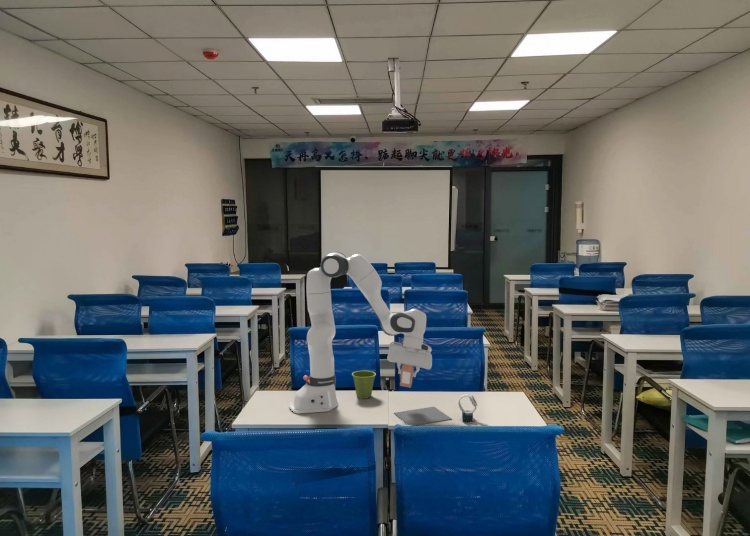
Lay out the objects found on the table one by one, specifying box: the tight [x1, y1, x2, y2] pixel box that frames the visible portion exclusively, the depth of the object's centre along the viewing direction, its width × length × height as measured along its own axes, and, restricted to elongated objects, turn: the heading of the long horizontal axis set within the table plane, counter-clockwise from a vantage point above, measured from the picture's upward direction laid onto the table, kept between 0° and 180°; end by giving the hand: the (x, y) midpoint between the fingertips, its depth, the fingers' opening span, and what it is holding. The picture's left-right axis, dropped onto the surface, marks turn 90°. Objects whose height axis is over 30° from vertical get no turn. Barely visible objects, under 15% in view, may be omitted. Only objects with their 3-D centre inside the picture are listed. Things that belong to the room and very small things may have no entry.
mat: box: [393, 406, 452, 426], centre depth 218 cm, size 20×16×1 cm
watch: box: [457, 393, 478, 423], centre depth 213 cm, size 6×8×11 cm
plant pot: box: [351, 370, 377, 399], centre depth 245 cm, size 12×12×11 cm
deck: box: [399, 364, 415, 389], centre depth 226 cm, size 3×5×10 cm, turn 78°
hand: (406, 375), depth 225 cm, fingers closed on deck, 5 cm apart
